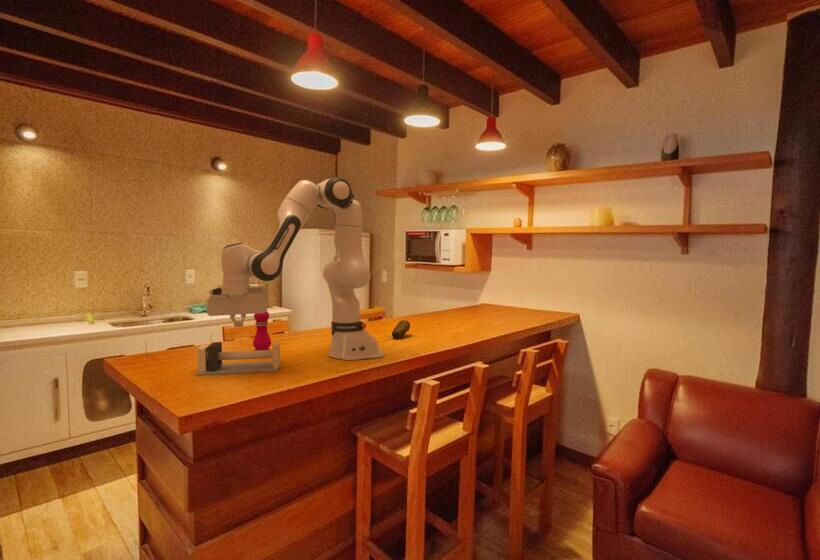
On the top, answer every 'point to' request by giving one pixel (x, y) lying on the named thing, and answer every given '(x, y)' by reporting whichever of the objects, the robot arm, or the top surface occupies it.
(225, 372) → the pipe rig
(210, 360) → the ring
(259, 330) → the pepper mill
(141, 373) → the top surface
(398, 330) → the potato
